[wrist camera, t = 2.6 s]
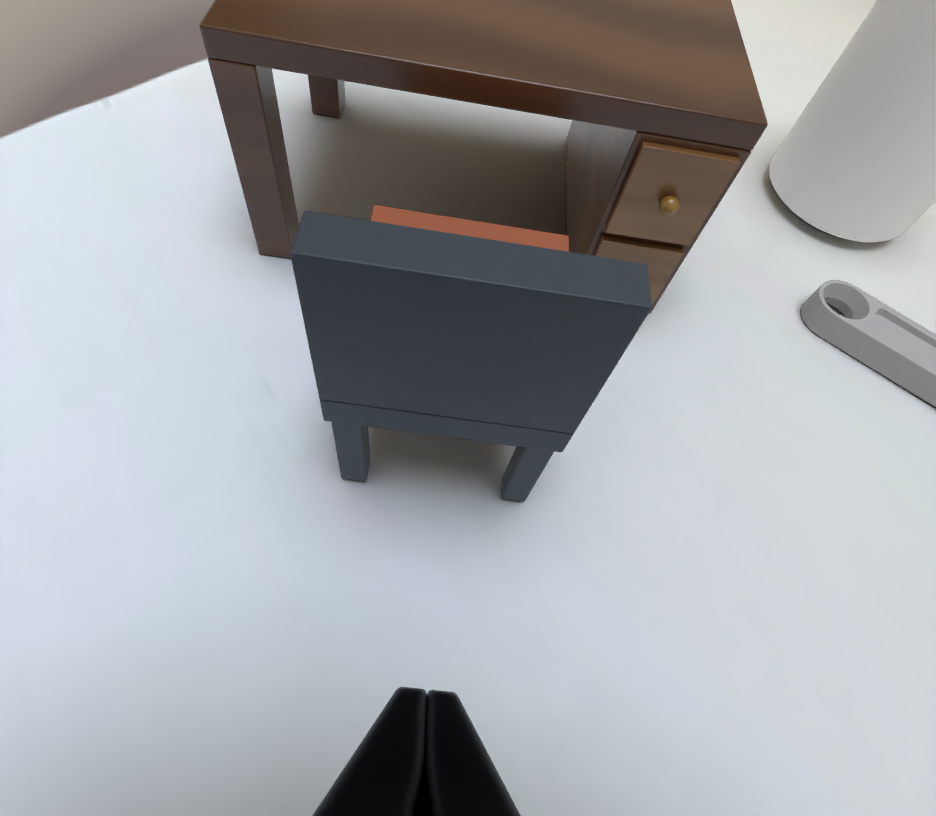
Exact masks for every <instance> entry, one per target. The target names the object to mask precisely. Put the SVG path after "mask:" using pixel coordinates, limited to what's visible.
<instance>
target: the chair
mask: <svg viewBox="0 0 936 816" xmlns="http://www.w3.org/2000/svg"><path fill="white" fill-rule="evenodd" d="M290 255H291V260H292V265H293V270H294V274H295V279H296V284H297V289H298V294H299V299H300V304H301V309H302V314H303V319H304V324H305V329H306V334H307V339H308V344H309V349H310V354H311V359H312V363H313V368H314V373H315V378H316V383H317V388H318V393H319V398H320V403H321V408H322V413H323V418H324V420H325V421H331V422H332V428H333V433H334V439H335V444H336V450H337V456H338V461H339V467H340V472H341V478H343V479H351V480H359V481H366V479H367V474H368V469H369V463H370V451H369V435H368V426H370V427H377V428H384V429H392V430H399V431H407V432H414V433H422V434H429V435H437V436H444V437H452V438H459V439H467V440H474V441H482V442H489V443H497V444H504V445H511V446H516V448H515V451H514V453H513V455H512V457H511V460H510V462H509V464H508V466H507V468H506V471H505V473H504V475H503V477H502V491H501V497H502V499H508V500H516V501H525V500H526V498H527V496H528V495H529V493H530V491H531V490H532V488H533V486H534V485H535V483H536V481H537V479H538V478H539V476H540V474H541V473H542V471H543V469H544V468H545V466H546V464H547V463H548V461H549V459H550V457H551V456H552V454H553V452H554V451H556V452H563V450H564V448H565V447H566V445H567V444H568V442H569V440H570V439H571V437H572V435H573V433H574V432H575V431H576V429H577V427H578V426H579V424H580V423H581V421H582V419H583V418H584V416H585V414H586V413H587V411H588V410H589V408H590V406H591V405H592V403H593V402H594V400H595V398H596V397H597V395H598V394H599V392H600V390H601V389H602V387H603V385H604V384H605V382H606V381H607V379H608V377H609V376H610V374H611V373H612V371H613V369H614V368H615V366H616V365H617V363H618V361H619V360H620V358H621V356H622V355H623V353H624V352H625V350H626V348H627V347H628V345H629V344H630V342H631V340H632V339H633V337H634V336H635V334H636V332H637V331H638V329H639V327H640V326H641V324H642V323H643V321H644V319H645V318H646V316H647V315H648V313H649V311H650V310H651V308H652V306H651V296H650V286H649V276H648V266H647V264H644V263H638V262H632V261H625V260H619V259H612V258H606V257H600V256H593V255H587V254H580V253H574V252H569V236H568V235H561V234H555V233H549V232H542V231H536V230H530V229H523V228H517V227H511V226H505V225H498V224H492V223H486V222H479V221H473V220H467V219H460V218H454V217H448V216H441V215H435V214H429V213H423V212H416V211H410V210H404V209H397V208H391V207H385V206H378V205H374V208H373V212H372V216H371V220H364V219H357V218H351V217H344V216H338V215H332V214H325V213H319V212H312V211H304V213H303V216H302V219H301V222H300V225H299V228H298V231H297V234H296V237H295V240H294V243H293V246H292V249H291V252H290Z"/></svg>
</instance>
